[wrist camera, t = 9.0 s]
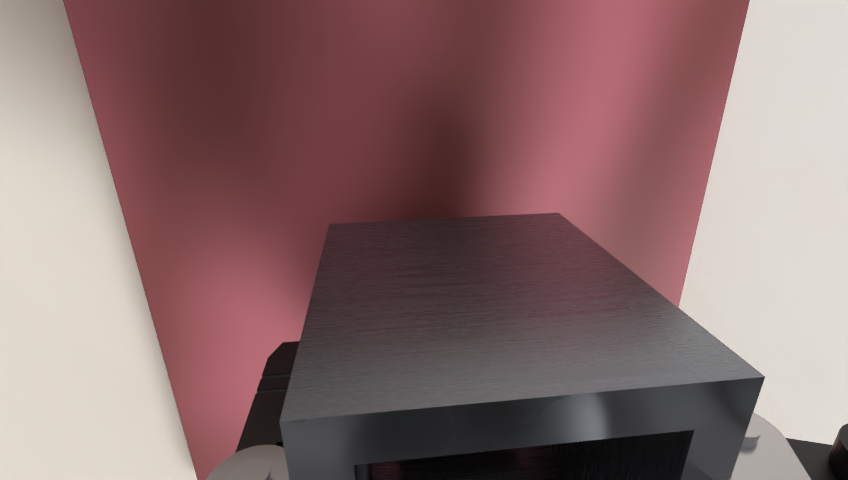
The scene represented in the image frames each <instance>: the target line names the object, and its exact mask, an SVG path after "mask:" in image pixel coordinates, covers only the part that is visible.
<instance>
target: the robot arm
mask: <svg viewBox="0 0 848 480" xmlns="http://www.w3.org/2000/svg"><path fill="white" fill-rule="evenodd" d="M299 342H300V341H293V342H283V343H282V344H281V345H280V346H279V347H278V348H277V349H276V350H275V351H274V352H273V353H272V354H271V355H270V356H269V357H268V359H267V362H266V365H265V367H264V370H263V373H262V379H260V382H259V385H258V388H257V394H255V397H254V399H253V402H252V405H251V408H250V411H249V414H248V417H247V420H246V423H245V426H244V429H243V432H242V434H241V437H240V440H239V443H238V446H237V449H236V452H235V454H233V455H231V456H229V457H228V458H226V459H225V460H224V461H222V462H221V463H220V464H219V465H218V466H217V467H215V468H214V470H213V471H212V472H211V473H210V474H209V476H208V477H207V479H206V480H289V474H288V468H287V463H286V457H285V451H284V445H283V439H282V434H281V428H280V422H279V421H280V417H281V413H282V409H283V405H284V401H285V397H286V393H287V389H288V385H289V381H290V377H291V373H292V369H293V365H294V361H295V357H296V353H297V349H298V345H299ZM711 480H848V424H846V425H844V426H842V427H841V429H840V430H839V433H838V435H837V437H836V439H835V442H834V444H833V445H828V444H821V443H814V442H808V441H801V440H795V439H788V438H785V437H784V436H783V434H782V433H781V432H780V431H779V430H778V429H777V428H776V427H775V426H773V425H772V424H771V423H770V422H768V421H767V420H765V419H764V418H762V417H761V416H759V415H757V414H755V413H753V414H752V417H751V420H750V422H749V425H748V428H747V431H746V434H745V437H744V440H743V443H742V446H741V449H740V452H739V455H738V458H737V461H736V464H735V467H734V470H733V473H732V475H731V476H723V477H714V478H711Z"/></svg>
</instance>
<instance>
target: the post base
mask: <svg viewBox="0 0 848 480" xmlns="http://www.w3.org/2000/svg"><path fill="white" fill-rule="evenodd" d="M63 1H64V5H65V9H66V12H67V16H68V19H69V23H70V26H71V30H72V33H73V37H74V41H75V44H76V48H77V51H78V55H79V58H80V62H81V66H82V69H83V73H84V76H85V80H86V83H87V87H88V91H89V94H90V98H91V101H92V105H93V108H94V112H95V116H96V119H97V123H98V126H99V130H100V133H101V137H102V141H103V144H104V148H105V151H106V155H107V158H108V162H109V165H110V169H111V173H112V176H113V180H114V183H115V187H116V190H117V194H118V198H119V201H120V205H121V208H122V212H123V215H124V219H125V223H126V226H127V230H128V233H129V237H130V240H131V244H132V248H133V251H134V255H135V258H136V262H137V265H138V269H139V272H140V276H141V280H142V283H143V287H144V290H145V294H146V297H147V301H148V305H149V308H150V312H151V315H152V319H153V322H154V326H155V330H156V333H157V337H158V340H159V344H160V347H161V351H162V355H163V358H164V362H165V365H166V369H167V372H168V376H169V379H170V383H171V387H172V390H173V394H174V397H175V401H176V404H177V408H178V412H179V415H180V419H181V422H182V426H183V429H184V433H185V437H186V440H187V444H188V447H189V451H190V454H191V458H192V462H193V465H194V469H195V472H196V476H197V479H198V480H206V479H207V477H208V476H209V474H210V473H211V472H212V471H213V470H214V468H215V467H217V466H218V465H219V464H220V463H221V462H222V461H224V460H225V459H226V458H228V457H229V456H231V455H233V454H235V452H236V449H237V446H238V443H239V440H240V437H241V434H242V432H243V429H244V426H245V423H246V420H247V417H248V414H249V411H250V408H251V405H252V402H253V399H254V397H255V394H257V388H258V385H259V382H260V379H262V373H263V370H264V367H265V365H266V362H267V359H268V357H269V356H270V355H271V354H272V353H273V352H274V351H275V350H276V349H277V348H278V347H279V346H280V345H281V344H282V343H283V342H293V341H300V338H301V334H302V330H303V326H304V322H305V318H306V314H307V310H308V306H309V302H310V298H311V294H312V290H313V286H314V282H315V278H316V274H317V270H318V266H319V262H320V258H321V254H322V250H323V246H324V242H325V238H326V234H327V230H328V226H329V224H334V223H355V222H375V221H396V220H416V219H436V218H457V217H477V216H498V215H518V214H538V213H560V214H561V215H562V216H563V217H565V218H566V219H567V220H569V221H570V222H571V223H572V224H574V225H575V226H576V227H577V228H579V229H580V230H581V231H582V232H584V233H585V234H586V235H587V236H589V237H590V238H591V239H592V240H594V241H595V242H596V243H597V244H599V245H600V246H601V247H602V248H604V249H605V250H606V251H607V252H609V253H610V254H611V255H613V256H614V257H615V258H616V259H618V260H619V261H620V262H621V263H623V264H624V265H625V266H626V267H628V268H629V269H630V270H631V271H633V272H634V273H635V274H636V275H638V276H639V277H640V278H641V279H643V280H644V281H645V282H646V283H648V284H649V285H650V286H651V287H653V288H654V289H655V290H657V291H658V292H659V293H660V294H662V295H663V296H664V297H665V298H667V299H668V300H669V301H670V302H672V303H673V304H674V305H675V306H677V307H679V302H680V298H681V294H682V290H683V285H684V281H685V277H686V272H687V268H688V264H689V259H690V255H691V251H692V246H693V242H694V238H695V234H696V229H697V225H698V221H699V216H700V212H701V208H702V203H703V199H704V195H705V190H706V186H707V182H708V177H709V173H710V169H711V165H712V160H713V156H714V152H715V147H716V143H717V139H718V134H719V130H720V126H721V121H722V117H723V113H724V108H725V104H726V100H727V96H728V91H729V87H730V83H731V78H732V74H733V70H734V65H735V61H736V57H737V52H738V48H739V44H740V39H741V35H742V31H743V27H744V22H745V18H746V14H747V9H748V5H749V1H750V0H63Z"/></svg>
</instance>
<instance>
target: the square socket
mask: <svg viewBox="0 0 848 480" xmlns="http://www.w3.org/2000/svg"><path fill="white" fill-rule="evenodd" d="M764 378H765V376H763V375H762V374H761V373H760V372H758V371H757V370H756V369H755V368H753V367H752V366H751V365H750V364H748V363H747V362H746V361H745V360H743V359H742V358H741V357H739V356H738V355H737V354H736V353H734V352H733V351H732V350H731V349H729V348H728V347H727V346H726V345H724V344H723V343H722V342H721V341H719V340H718V339H717V338H716V337H714V336H713V335H712V334H711V333H709V332H708V331H707V330H706V329H704V328H703V327H702V326H701V325H699V324H698V323H697V322H695V321H694V320H693V319H692V318H690V317H689V316H688V315H687V314H685V313H684V312H683V311H682V310H680V309H679V308H678V307H677V306H675V305H674V304H673V303H672V302H670V301H669V300H668V299H667V298H665V297H664V296H663V295H662V294H660V293H659V292H658V291H657V290H655V289H654V288H653V287H651V286H650V285H649V284H648V283H646V282H645V281H644V280H643V279H641V278H640V277H639V276H638V275H636V274H635V273H634V272H633V271H631V270H630V269H629V268H628V267H626V266H625V265H624V264H623V263H621V262H620V261H619V260H618V259H616V258H615V257H614V256H613V255H611V254H610V253H609V252H607V251H606V250H605V249H604V248H602V247H601V246H600V245H599V244H597V243H596V242H595V241H594V240H592V239H591V238H590V237H589V236H587V235H586V234H585V233H584V232H582V231H581V230H580V229H579V228H577V227H576V226H575V225H574V224H572V223H571V222H570V221H569V220H567V219H566V218H565V217H563V216H562V215H561V214H560V213H538V214H518V215H498V216H477V217H457V218H436V219H416V220H396V221H375V222H355V223H334V224H329V226H328V230H327V234H326V238H325V242H324V246H323V250H322V254H321V258H320V262H319V266H318V270H317V274H316V278H315V282H314V286H313V290H312V294H311V298H310V302H309V306H308V310H307V314H306V318H305V322H304V326H303V330H302V334H301V338H300V342H299V345H298V349H297V353H296V357H295V361H294V365H293V369H292V373H291V377H290V381H289V385H288V389H287V393H286V397H285V401H284V405H283V409H282V413H281V417H280V421H279V422H280V428H281V434H282V439H283V445H284V451H285V457H286V463H287V468H288V474H289V480H711V478H714V477H723V476H731V475H732V473H733V470H734V467H735V464H736V461H737V458H738V455H739V452H740V449H741V446H742V443H743V440H744V437H745V434H746V431H747V428H748V425H749V422H750V420H751V417H752V414H753V411H754V408H755V405H756V402H757V399H758V396H759V393H760V390H761V387H762V384H763V381H764Z"/></svg>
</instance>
